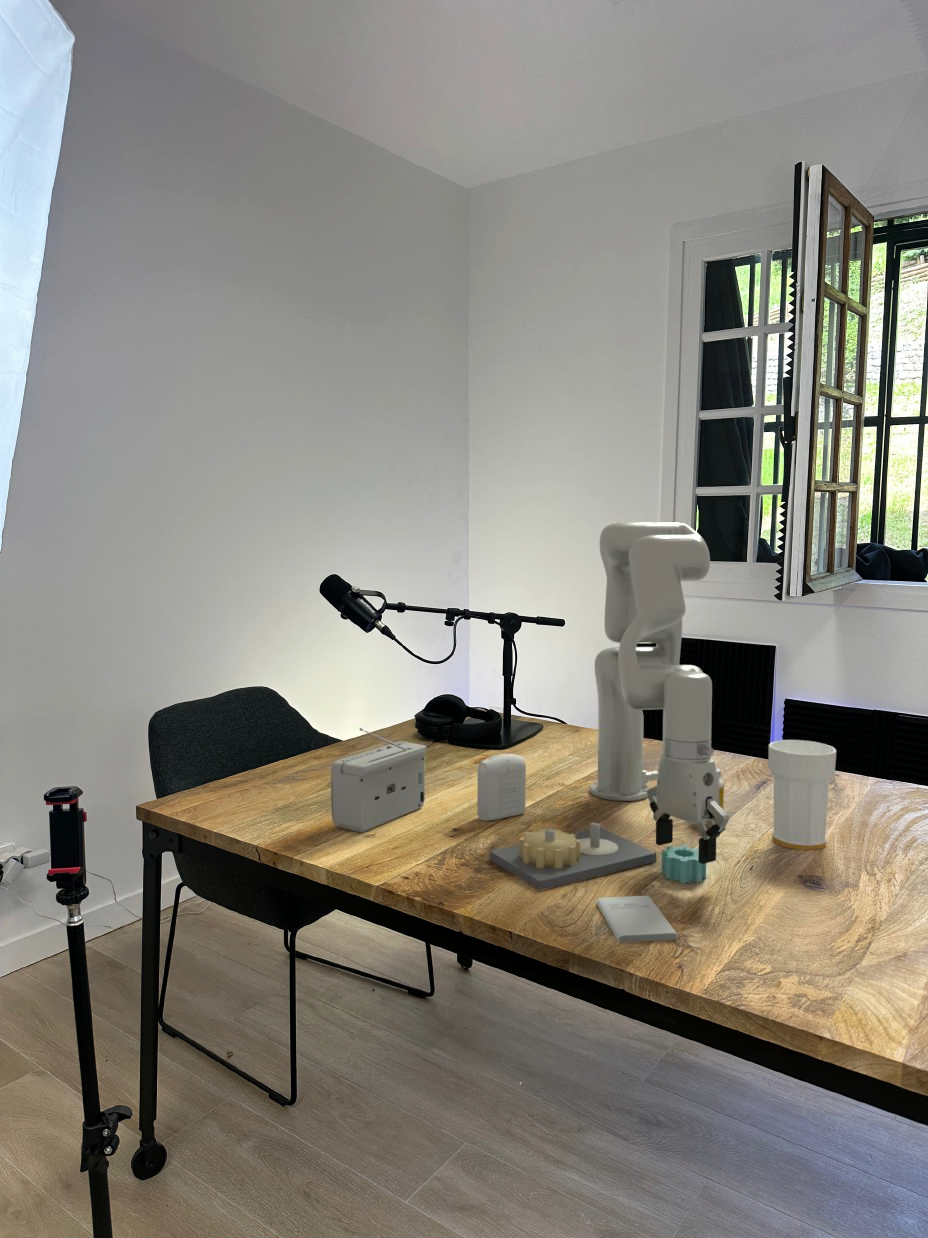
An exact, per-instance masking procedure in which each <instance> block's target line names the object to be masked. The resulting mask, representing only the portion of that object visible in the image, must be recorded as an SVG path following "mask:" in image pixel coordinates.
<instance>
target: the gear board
mask: <svg viewBox="0 0 928 1238" xmlns="http://www.w3.org/2000/svg"><path fill="white" fill-rule="evenodd" d="M523 834H524V836H523V837H522V836H521V837H519V844H516V845H511V846H506V847H501V848H497V849H491V850H489V860H490V861H491V862H494V863H495V864H496V865H498V866H499V867H501V868H503V869H504V870H506V871H508V872H509V873H511V875H514V876H515V877H517V878H519V879H521V880H522V881H524V882H525V883H526V884H528V885H530V886H532V888H533V887H534V889H536V890H538V891H543V890H547V889H551V888H555V887H556V888H557V887H559V886H563V885H567V884H572V883H575V882H580V881H584V880H588V879H591V878H596V877H599V876H604V875H606V874H607V875H608V874H612V873H616V872H620V871H624V870H627V869H630V868H635V867H640V866H644V865H648V864H651V863H655V862H657V852H655V851H653V850H651V849H648V848H646V847H645V846H642V845H641V844H638V843H636V842H634V841H631V840H629V839H628V838H625V837H623V836H620V835H619V834H616V833H615V832H613V831H611V830H608V829H606V828H603V827H601V825H600V823H598V822H591V823H590V826H589V829H584V830H581V831H576V832H572V833H568V832H564V831H563V830H560V829H559V830H558V829H555V830H554V829H552V828H551V829H538V830H537V831H533V832H530V831H526V832H524V833H523Z"/></svg>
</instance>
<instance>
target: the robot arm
mask: <svg viewBox="0 0 928 1238" xmlns="http://www.w3.org/2000/svg"><path fill="white" fill-rule="evenodd" d="M599 553H600V556H601V557H600V558H601V561H602V564H603V567H604V571H605V575H606V587H605V588H606V590H605V605H604V633H605V635H606V637H607V638H608V640H610V641H611V642H613V643H617V644H618V643H619V646H616V647H615V646H614V647H608V648H606V649H602V650H601V651H599V653H598V654H597V655H596V657H595V660H594V675H595V683H596V688H597V689H596V690H597V705H598V706H597V709H598V712H597V713H598V714H597V717H598V719H597V721H598V722H597V723H598V725H597V730H598V731H597V781H595V782H593V783H592V784H591V785H590V786H589V788H590V789H589V790H590V793H591V794H592V795H594V796H595V797H598V798H600V799H603V800H609V801H619V802H630V801H631V802H632V801H639V800H643V799H646V798H647V799H648V802H649V807H650V810H651V811H652V813H653V815H652V817H653V820H654V821H655V845H657V846H664V845H668V844H672V843H673V840H674V838H673V837H674V836H673V835H674V833H673V831H674V828H673V827H674V825H673V824H674V822H673V818H670V817H674V818H676V819H679V820H681V821H685V822H687V823H690V824H693V825H696V828H697V829H698V830H697V831H698V832H699V833H700V836H701V837H700V838H698V849H699V858H698V861H699V863H701V864H705V863H706V864H707V863H708V864H709V863H713V862H715V861H716V860H717V838H720V836H721V834H722V833H723V832H724V831H726V826H727V824H728V823H729V821H730V816H729V814H728V813H727V812H726V810H724V808H723V809H722V808H721V807H720V806H719V787H718V777H717V771H716V768H717V766H716V763H715V760H714V759H712V756H713V755H714V753H715V751H714V748H713V747H712V712H713V711H712V710H713V709H712V708H713V704H712V703H713V701H712V700H713V682H712V678H711V676H709V675H708V674H706V673H704V672H703V670H702V669H701V668H700V667H699V666H696V665H693V664H680V661H681V660H680V658H681V648H682V647H681V645H682V637H683V635H682V634H683V618H684V616H685V615H686V609H687V608H686V604H685V597H684V592H683V587H682V581H683V582H684V581H685V582H686V581H687V582H688V581H689V582H690V581H700V580H703V579H704V578H706V576H707V575H708V573H709V570H710V566H711V556H710V550H709V547H708V545H707V543H706V541H705V539H704V538H703V537H702V536H701V535H700V533H698V531H696V530H694V528H692V527H691V526H690V525H688V524H686V523H683V522H668V521H667V522H659V521H658V522H656V521H655V522H652V521H651V522H649V521H648V522H647V521H630V522H628V521H627V522H625V521H624V522H616V523H611V524H608V525H606V526H605V527H604V528H602V531H601V533H600V535H599ZM638 644H656V645H655V646H638ZM643 710H644V711H645V710H650V711H652V710H662V711H663V713H662V753H661V755H660V758H659V764H658V770H653V771H649V772H647V770H643V769H644V767H643V766H644V764H643V763H644V713H643ZM650 781H652V782H653V781H656V786H653V787H651V788H649V786H648V785H647V784H648V783H649V782H650ZM715 820H716V821H715ZM706 825H707V826H706ZM707 827H708V829H707Z"/></svg>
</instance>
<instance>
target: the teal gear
mask: <svg viewBox="0 0 928 1238" xmlns="http://www.w3.org/2000/svg"><path fill="white" fill-rule="evenodd" d="M698 858H699V847H698V848H697V847H696V848H694V847H693V848H692V847H688V845H681V846H673V845H670V846H666V850H665V849H663V850H661V874H663V875H664V877H665V879H666V880H669V881H670V880H671V881H672V880H673V881H674V880H675V881H679V883H680V884H682V883H683V884H687V882H695V883H701V882H702V881H703V880H702V879H706V878H707V863H705V864H701V863H699V861H698Z"/></svg>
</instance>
